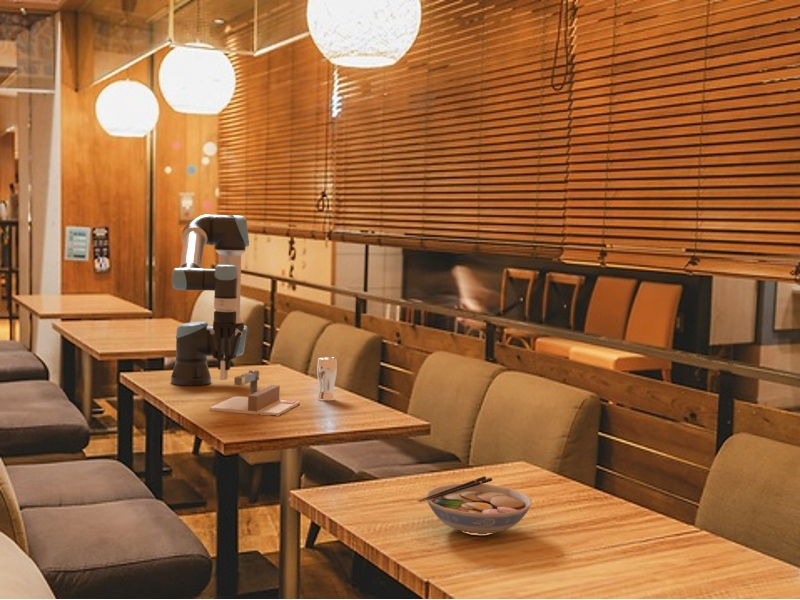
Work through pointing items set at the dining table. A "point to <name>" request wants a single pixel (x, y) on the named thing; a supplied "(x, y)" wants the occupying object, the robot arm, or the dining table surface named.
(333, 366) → the beer glass
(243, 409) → the lock base
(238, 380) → the swing bar
